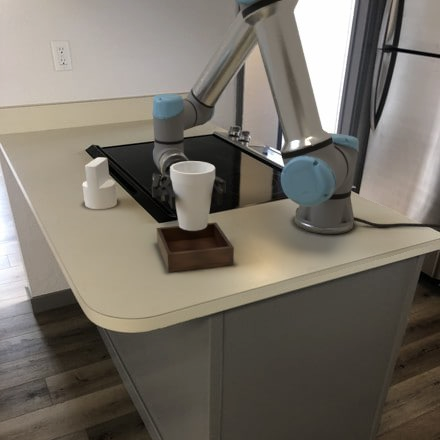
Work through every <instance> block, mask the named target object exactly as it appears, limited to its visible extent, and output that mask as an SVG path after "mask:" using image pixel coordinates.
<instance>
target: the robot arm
mask: <svg viewBox="0 0 440 440" xmlns="http://www.w3.org/2000/svg"><path fill="white" fill-rule="evenodd" d="M234 1H235V2H237V3H238V5H239V8H240V9H239V12H238V14H237V15H236V17H235V18H234V19H233V22H232V23H231V25H230V26H229V28H228V30H226V33H225V34H224V36H223V38H222V39H221V41H220V42H219V44H218V46H217V47H216V48H215V50H214V52H213V54H212V55H211V57H210V59H209V60H208V61H207V63H206V65H205V66H204V68H203V69H202V71H201V73H200V74H199V76H198V78H197V79H196V81H195V83H194V84H193V85H192V87H191V89H190V91H189V92H188V93H187V95H186V97H185V98H183V97H182V96H181V95H180V94H176V93H160V94H157V95H155V96H154V97H153V100H152V120H153V122H152V123H153V138H154V142H153V144H154V145H153V146H154V147H153V150H152V157H153V163H154V164H155V166H156V167H157V169H158V170H159V172H160V174H159V173H157V172H153V173H152V182H151V183H152V184H151V197H152V198H154V199H157V198H158V197H160V202H167V203H168V204H169V206H170V208H171V210H176V199H175V195H174V191H173V185H172V181H171V178H170V166H172V165H173V164H175V163H179V162H186V161H190V159H189V158H188V157H187V156H186V155H185V150H184V149H185V148H184V147H185V146H184V145H185V143H184V139H185V137H184V135H185V134H184V133H185V131H187V130H189V129H190V130H191V129H193V128H195V127H198V126H203V125H205V124H206V123H208V122H210V121H211V120H212V119H213V117H214V116H215V112H216V111H215V110H216V109H215V108H216V107H215V106H216V105H217V104H218V103H219V101H220V100H221V98H222V96H223V95H224V94H225V92H226V91H227V89H228V88H229V86H230V85H231V83H232V82H233V80H234V79H235V78H236V76H237V75H238V73H239V72H240V70H241V69H242V67H243V66H244V64H245V63H246V62H247V60H248V58H249V57H250V56H251V54H252V53H253V51H254V50H255V48H256V47H257V46H258V49H259V53H260V56H261V60H262V63H263V64H262V65H263V69H264V71H265V75H266V78H267V82H268V86H269V90H270V93H271V96H272V100H273V104H274V107H275V111H276V115H277V118H278V122H279V126H280V131H281V134H282V137H283V141H284V142H283V145H282V147H281V148H280V156H281V159H282V163H283V167H282V168H283V169H282V170H281V174H280V185H281V188H282V191H283V193H284V194H285V196H286V197H287V198H288V199H289V200H290V201H292V202H293V203H295V204H297V205H299V206H298V207H297V208H296V210H295V217H294V223H295V224H296V225H297V226H298V227H299V228H300V229H303V230H305V231H307V232H310V233H313V234H314V233H315V234H321V235H339V234H345V233H347V232H350V231H351V230H353V228H354V224H355V222H358V223H362V224H365V225H368V226H370V227H375V228H401V227H402V228H404V227H405V228H406V227H407V228H435V229H437V228H438V229H440V224H438V223H414V222H413V223H409V222H408V223H407V222H400V223H399V222H398V223H375V222H372V221H369V220H366V219H363V218H359V217H355V216H354V215H355V214H354V210H353V204H352V198H351V196H352V192H353V191H352V189H353V185H354V178H355V172H356V168H357V167H356V166H357V160H358V154H359V152H360V150H359V149H360V148H359V145H360V142H359V139H358V138H357V137H355V136H352V135H347V134H342V133H331V132H328V131H326V130H324V129H323V125H322V122H321V117H320V114H319V109H318V105H317V101H316V97H315V93H314V89H313V85H312V80H311V77H310V73H309V69H308V65H307V60H306V56H305V53H304V48H303V45H302V40H301V36H300V32H299V27H298V24H297V20H296V16H295V10H296V7H297V5H298V3H299V0H234ZM226 190H227V181H226V180H224V179H222V178H221V177H219V176H218V175H215V180H214V184H213V190H212V197H211V198H212V199H213V200H214V201H215V203H216V204H217V206H219V207H220V206H223V201H224V200H223V198H224V194H225V193H226Z"/></svg>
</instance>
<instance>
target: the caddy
mask: <svg viewBox="0 0 440 440" xmlns="http://www.w3.org/2000/svg"><path fill="white" fill-rule="evenodd" d="M156 243H157V247H158V250H159V253H160V254H161V257H162V259H163V262H164V265H165V267H166V270H167V273H174V272H184V271H192V270H200V269H202V270H203V269H210V268H217V267H226V266H233V265H234V255H235V253H234V252H235V251H234V250H235V248H234V246H233V244H232V243H231V242H230V240H229V239H228V237H227V236H226V234H225V233H224V231H223V230H222V228H221V227H220V225H219V224H218V223H217V222H208V223H207V227H206V228H204V229H202V230H197V231H189V230H184V229H182V228H180V226H179V225H174V226H161V227H156Z"/></svg>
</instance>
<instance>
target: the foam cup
mask: <svg viewBox="0 0 440 440" xmlns="http://www.w3.org/2000/svg"><path fill="white" fill-rule="evenodd" d="M215 176H216V167H215V165H214V164H211V163H209V162H205V161H200V160H199V161H198V160H197V161H196V160H189V161H186V162H179V163H175V164H173V165H172V166H170V178H171V181H172V185H173V193H174V195H175V199H176V209H175V210H176V215H177V222H178V226H180V228H182V229H184V230H189V231H197V230H202V229H204V228H206V227H207V223H209V217H210V209H211V204H212V198H213V197H212V190H213V184H214V180H215Z"/></svg>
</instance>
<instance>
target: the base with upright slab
mask: <svg viewBox="0 0 440 440" xmlns="http://www.w3.org/2000/svg"><path fill="white" fill-rule="evenodd" d="M84 170H85V178H86V180H85V181H83V182H82V192H83V199H84V206H85V207H86V208H88V209H91V210H106V209H110V208H113V207H115V206H117V204H118V199H117V198H118V197H117V191H116V190H117V188H116V181H115V180H114V179H112V178H110V171H109V161H108V158H107V157H98V156H97V157H96V158H94V159H93V160H91V161H90V162H88V163H87V164H85V165H84Z"/></svg>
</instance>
